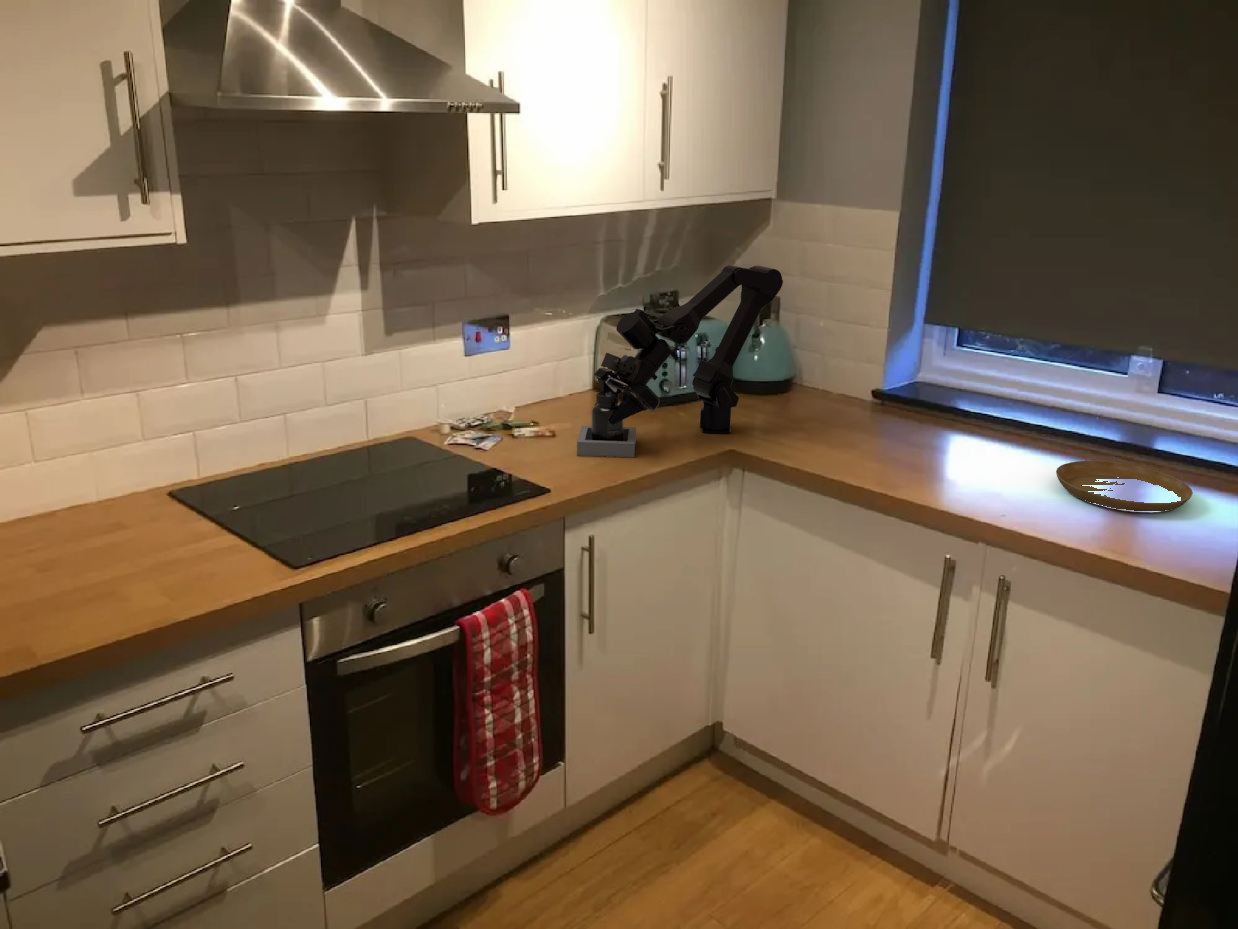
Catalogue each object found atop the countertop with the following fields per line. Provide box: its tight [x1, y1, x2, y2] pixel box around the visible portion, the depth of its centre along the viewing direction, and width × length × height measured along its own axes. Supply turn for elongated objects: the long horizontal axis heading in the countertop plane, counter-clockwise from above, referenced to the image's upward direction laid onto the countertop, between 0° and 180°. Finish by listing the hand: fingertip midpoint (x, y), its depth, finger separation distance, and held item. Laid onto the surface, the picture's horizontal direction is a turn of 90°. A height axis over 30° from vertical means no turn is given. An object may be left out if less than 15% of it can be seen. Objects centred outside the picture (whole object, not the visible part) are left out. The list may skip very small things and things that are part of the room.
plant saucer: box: [1055, 460, 1194, 511], centre depth 203 cm, size 24×24×3 cm
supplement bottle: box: [591, 391, 624, 441], centre depth 223 cm, size 7×7×12 cm
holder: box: [576, 425, 637, 458], centre depth 225 cm, size 12×12×3 cm
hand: (601, 419), depth 223 cm, fingers closed on supplement bottle, 7 cm apart
